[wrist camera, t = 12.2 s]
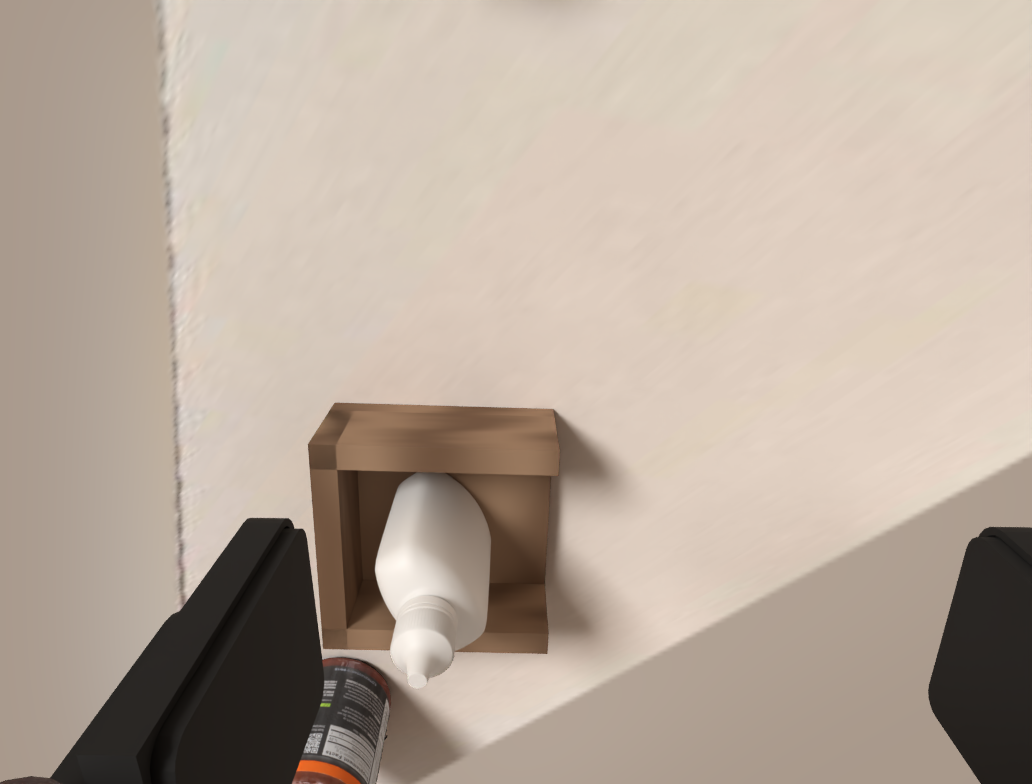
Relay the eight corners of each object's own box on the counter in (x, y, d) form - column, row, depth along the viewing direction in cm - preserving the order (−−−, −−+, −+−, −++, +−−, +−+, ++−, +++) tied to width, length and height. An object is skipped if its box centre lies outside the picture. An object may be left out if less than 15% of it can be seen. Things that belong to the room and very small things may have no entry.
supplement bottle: (334, 745, 43) (277, 945, 32) (272, 680, 41) (189, 870, 31) (413, 703, 42) (381, 897, 31) (353, 635, 40) (297, 816, 30)
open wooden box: (553, 409, 35) (559, 451, 31) (542, 591, 39) (547, 653, 34) (334, 402, 35) (308, 444, 30) (345, 586, 39) (323, 648, 34)
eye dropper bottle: (412, 560, 37) (370, 746, 26) (395, 466, 35) (342, 622, 24) (493, 553, 37) (487, 735, 26) (481, 457, 35) (468, 610, 24)
